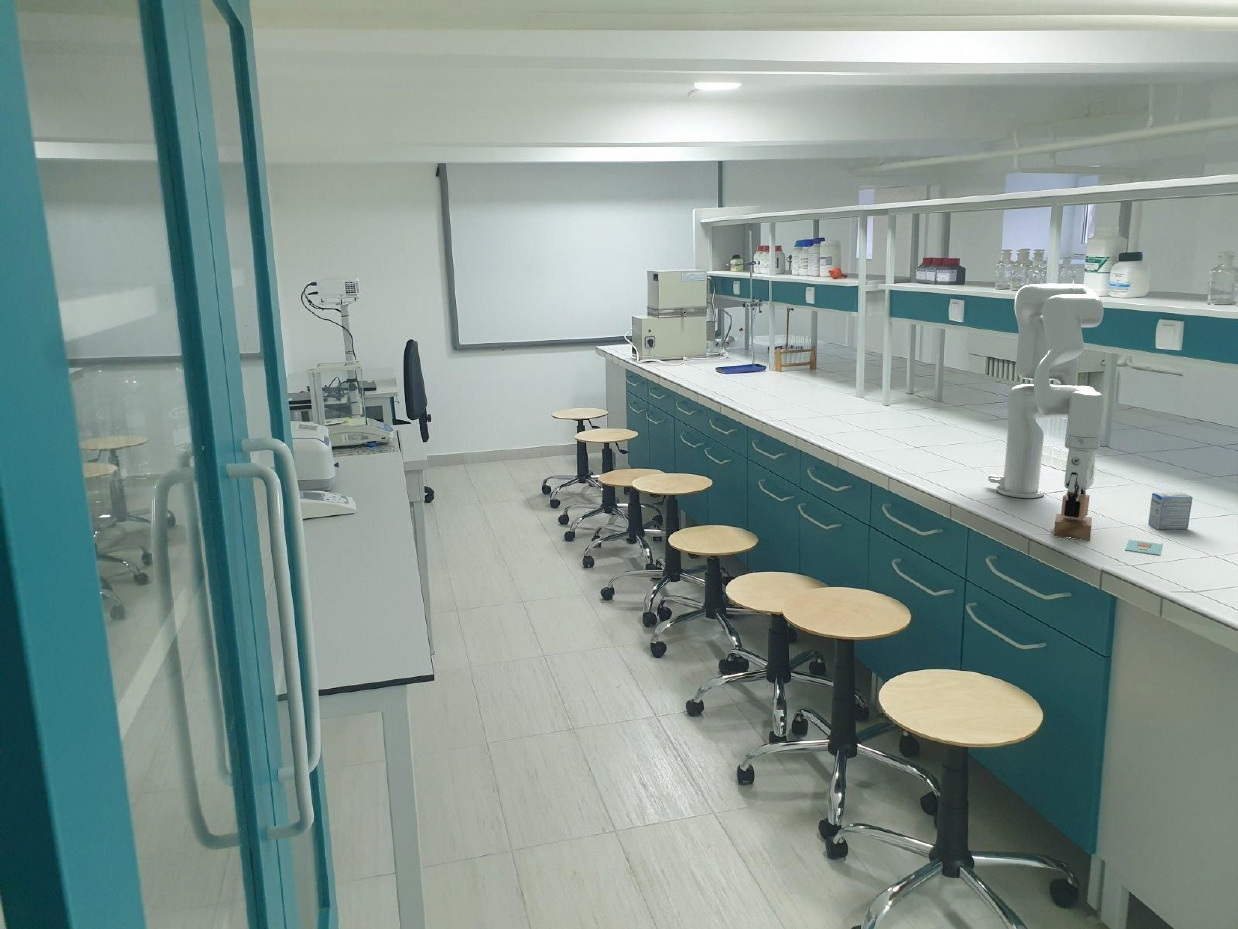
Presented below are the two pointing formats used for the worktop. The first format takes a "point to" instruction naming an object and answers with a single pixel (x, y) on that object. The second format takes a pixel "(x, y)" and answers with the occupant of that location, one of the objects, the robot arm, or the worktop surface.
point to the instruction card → (1143, 547)
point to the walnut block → (1073, 527)
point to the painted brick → (1083, 506)
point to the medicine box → (1170, 510)
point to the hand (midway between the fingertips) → (1074, 513)
